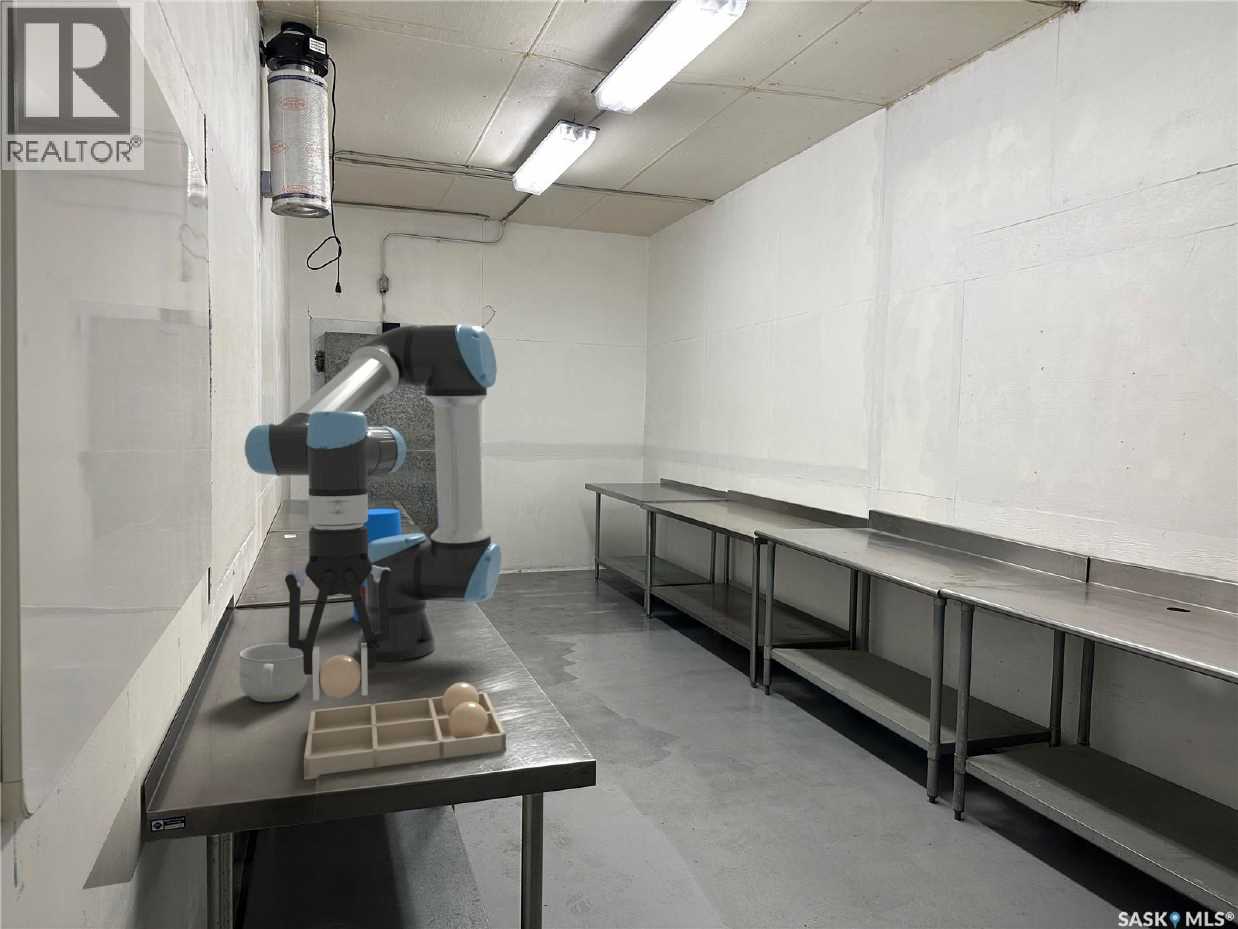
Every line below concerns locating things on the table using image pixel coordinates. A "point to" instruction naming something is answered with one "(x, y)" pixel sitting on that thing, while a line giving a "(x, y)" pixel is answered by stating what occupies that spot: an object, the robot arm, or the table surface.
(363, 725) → the carton
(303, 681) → the teacup
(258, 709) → the table surface
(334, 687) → the egg
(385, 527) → the thermos
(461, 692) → the egg back left
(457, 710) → the egg front left
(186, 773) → the table surface
